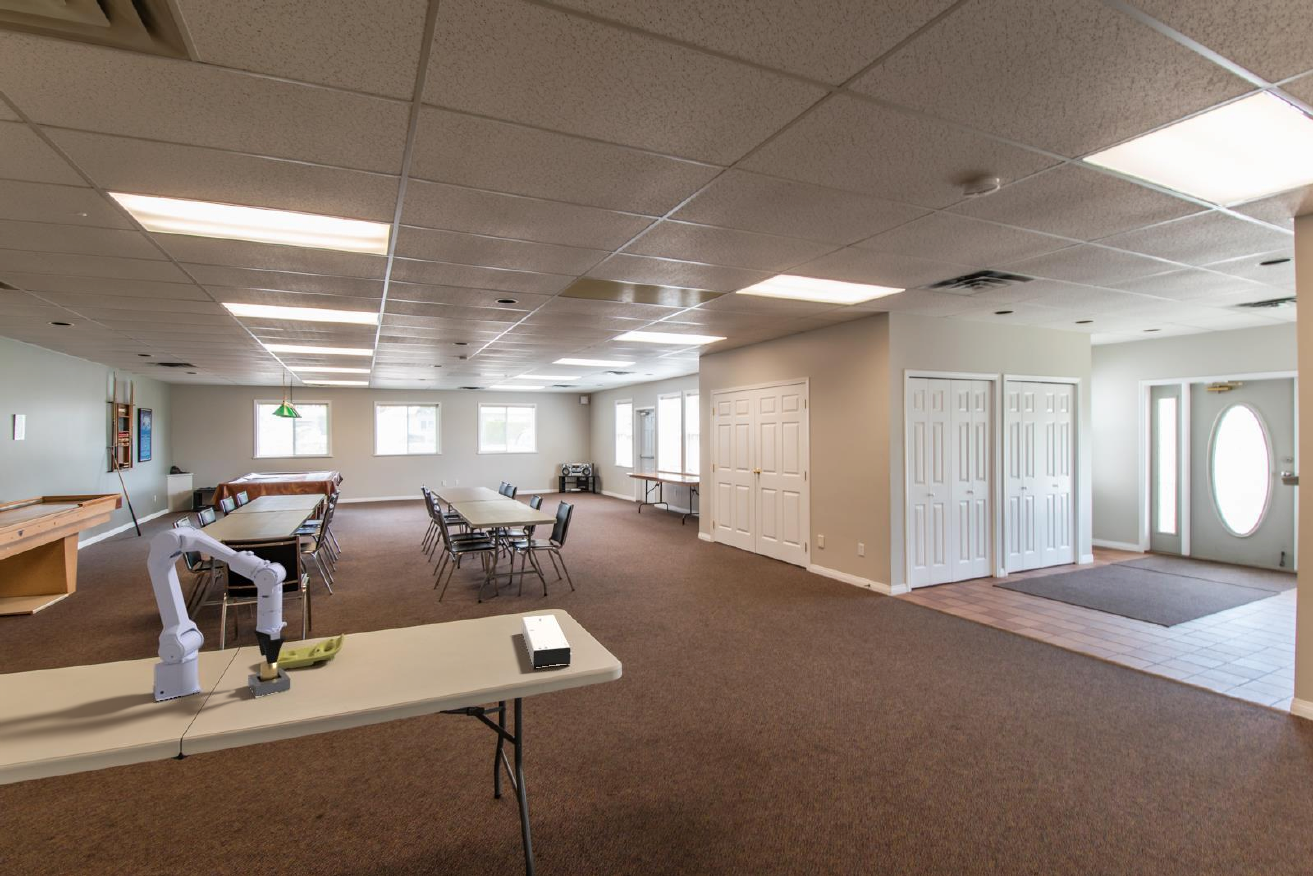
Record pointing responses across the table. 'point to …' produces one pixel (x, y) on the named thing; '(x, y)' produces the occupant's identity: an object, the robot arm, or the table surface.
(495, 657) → the table surface
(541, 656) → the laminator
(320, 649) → the plastic component
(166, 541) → the robot arm
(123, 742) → the table surface
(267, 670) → the gold metal cylinder
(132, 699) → the table surface
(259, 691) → the frame
